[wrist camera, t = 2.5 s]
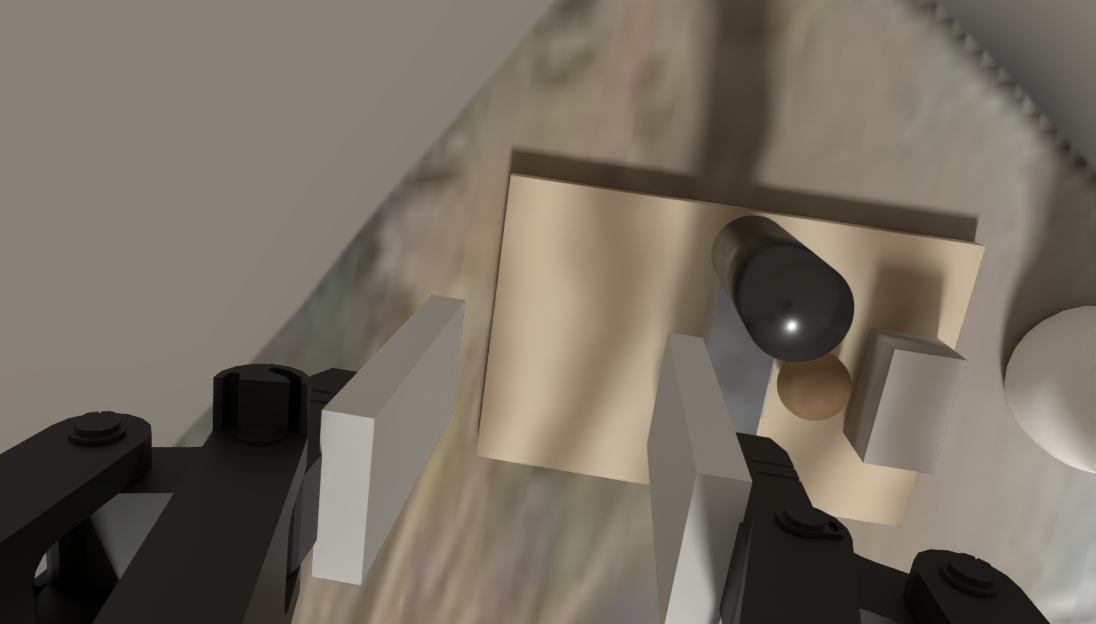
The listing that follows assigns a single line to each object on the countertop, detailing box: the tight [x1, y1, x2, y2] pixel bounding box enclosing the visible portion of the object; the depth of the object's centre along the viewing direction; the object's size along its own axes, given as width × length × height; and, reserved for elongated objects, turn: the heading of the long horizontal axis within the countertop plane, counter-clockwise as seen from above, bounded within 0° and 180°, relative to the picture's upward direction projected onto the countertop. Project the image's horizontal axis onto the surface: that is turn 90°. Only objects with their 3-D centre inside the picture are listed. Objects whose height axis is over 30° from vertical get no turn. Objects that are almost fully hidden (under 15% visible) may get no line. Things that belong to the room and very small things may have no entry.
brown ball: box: [777, 353, 852, 421], centre depth 39 cm, size 4×4×4 cm
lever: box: [701, 215, 855, 435], centre depth 34 cm, size 4×15×14 cm, turn 172°
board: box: [476, 173, 986, 527], centre depth 40 cm, size 24×16×5 cm, turn 82°
